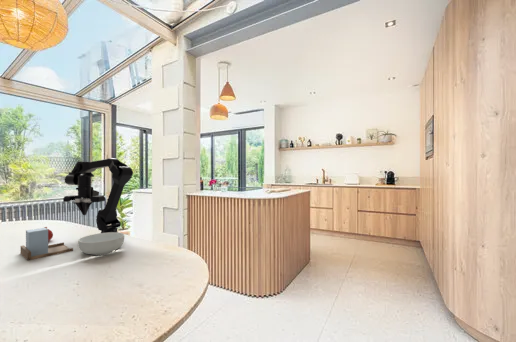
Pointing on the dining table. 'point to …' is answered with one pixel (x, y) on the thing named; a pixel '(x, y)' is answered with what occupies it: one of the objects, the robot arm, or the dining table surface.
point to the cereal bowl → (101, 243)
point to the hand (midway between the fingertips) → (84, 215)
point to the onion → (49, 234)
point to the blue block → (37, 241)
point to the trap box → (51, 251)
